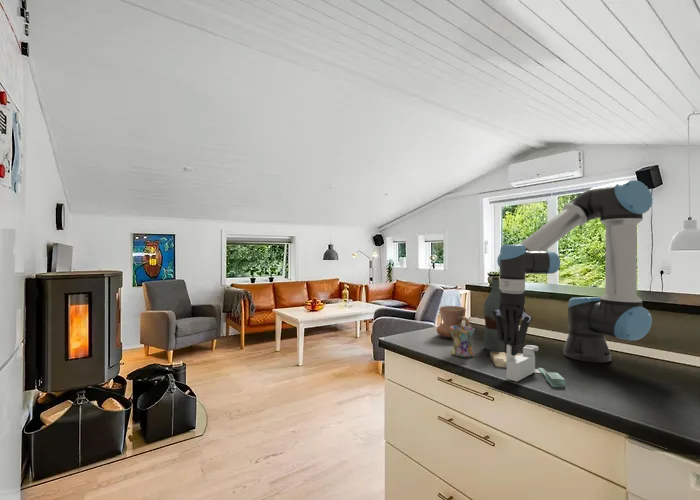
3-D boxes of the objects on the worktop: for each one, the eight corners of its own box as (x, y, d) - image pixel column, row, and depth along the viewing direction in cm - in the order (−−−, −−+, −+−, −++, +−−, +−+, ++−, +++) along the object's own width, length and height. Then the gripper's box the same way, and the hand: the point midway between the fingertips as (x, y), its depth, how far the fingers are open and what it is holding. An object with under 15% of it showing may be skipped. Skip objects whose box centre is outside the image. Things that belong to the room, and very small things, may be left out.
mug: (480, 357, 134) (480, 329, 134) (459, 359, 131) (459, 331, 131) (461, 349, 145) (461, 323, 146) (441, 351, 143) (441, 325, 143)
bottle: (479, 348, 146) (479, 277, 147) (491, 345, 152) (490, 276, 152) (501, 353, 139) (500, 278, 139) (512, 349, 145) (511, 277, 145)
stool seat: (537, 359, 131) (537, 341, 131) (564, 387, 104) (564, 364, 104) (490, 356, 135) (490, 338, 135) (505, 382, 108) (505, 360, 108)
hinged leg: (528, 366, 121) (528, 344, 121) (540, 369, 118) (540, 346, 118) (505, 378, 110) (505, 353, 110) (518, 381, 107) (518, 356, 107)
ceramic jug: (428, 335, 170) (428, 306, 170) (450, 331, 177) (450, 303, 177) (455, 344, 155) (456, 312, 154) (479, 340, 162) (479, 309, 161)
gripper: (487, 290, 117) (486, 360, 117) (524, 295, 106) (522, 372, 106) (501, 289, 121) (500, 357, 121) (537, 293, 110) (536, 368, 110)
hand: (510, 364), depth 114 cm, fingers closed
